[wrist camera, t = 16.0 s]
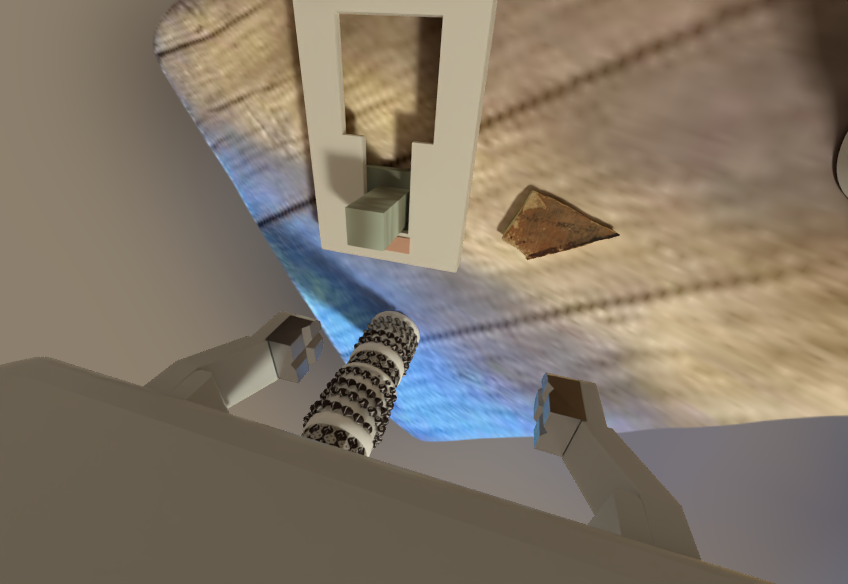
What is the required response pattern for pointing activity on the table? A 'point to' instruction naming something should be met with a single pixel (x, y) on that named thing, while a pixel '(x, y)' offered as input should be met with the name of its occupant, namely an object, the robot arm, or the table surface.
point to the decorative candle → (365, 386)
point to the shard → (551, 227)
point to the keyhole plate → (431, 162)
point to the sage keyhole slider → (380, 208)
